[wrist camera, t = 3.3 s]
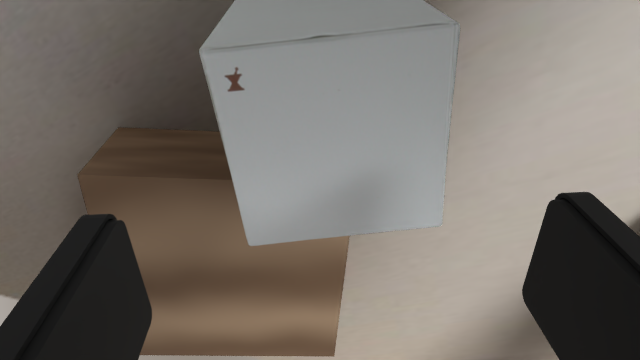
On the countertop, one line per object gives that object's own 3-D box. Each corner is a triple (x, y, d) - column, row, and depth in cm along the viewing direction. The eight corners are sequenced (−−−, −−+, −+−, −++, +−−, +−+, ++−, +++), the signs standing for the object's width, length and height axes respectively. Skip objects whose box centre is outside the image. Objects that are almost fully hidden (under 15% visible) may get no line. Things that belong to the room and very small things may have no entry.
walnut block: (120, 125, 26) (77, 174, 21) (345, 134, 27) (355, 184, 22) (152, 288, 34) (125, 354, 29) (329, 291, 35) (334, 356, 30)
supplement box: (264, 114, 26) (239, 252, 15) (242, -19, 22) (189, 41, 11) (385, 103, 26) (445, 233, 15) (384, -32, 22) (465, 15, 11)
